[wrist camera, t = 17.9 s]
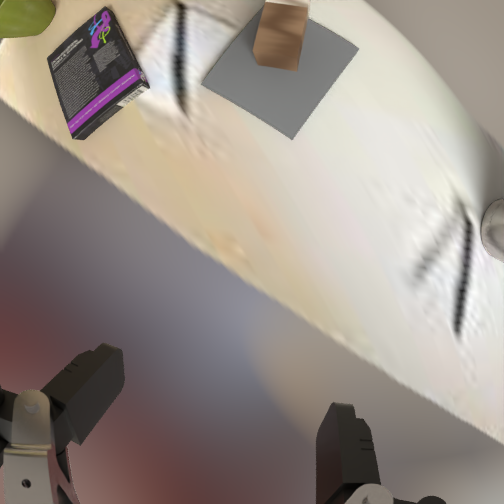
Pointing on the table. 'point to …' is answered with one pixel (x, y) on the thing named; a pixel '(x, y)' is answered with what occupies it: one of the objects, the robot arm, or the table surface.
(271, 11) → the block
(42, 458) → the robot arm
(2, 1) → the flower pot
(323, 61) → the mat
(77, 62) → the box
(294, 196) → the table surface
